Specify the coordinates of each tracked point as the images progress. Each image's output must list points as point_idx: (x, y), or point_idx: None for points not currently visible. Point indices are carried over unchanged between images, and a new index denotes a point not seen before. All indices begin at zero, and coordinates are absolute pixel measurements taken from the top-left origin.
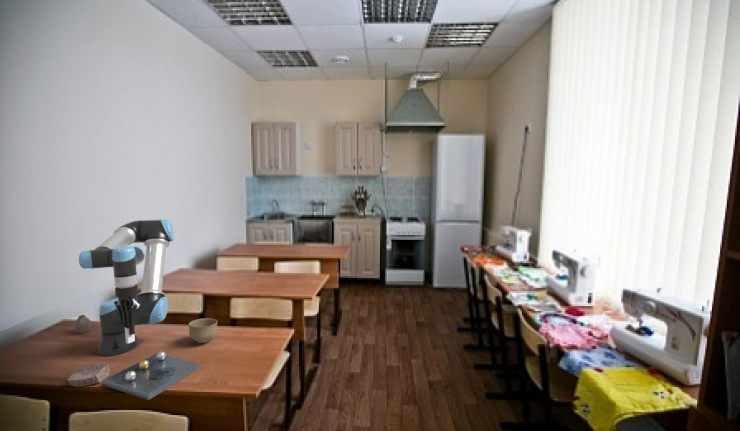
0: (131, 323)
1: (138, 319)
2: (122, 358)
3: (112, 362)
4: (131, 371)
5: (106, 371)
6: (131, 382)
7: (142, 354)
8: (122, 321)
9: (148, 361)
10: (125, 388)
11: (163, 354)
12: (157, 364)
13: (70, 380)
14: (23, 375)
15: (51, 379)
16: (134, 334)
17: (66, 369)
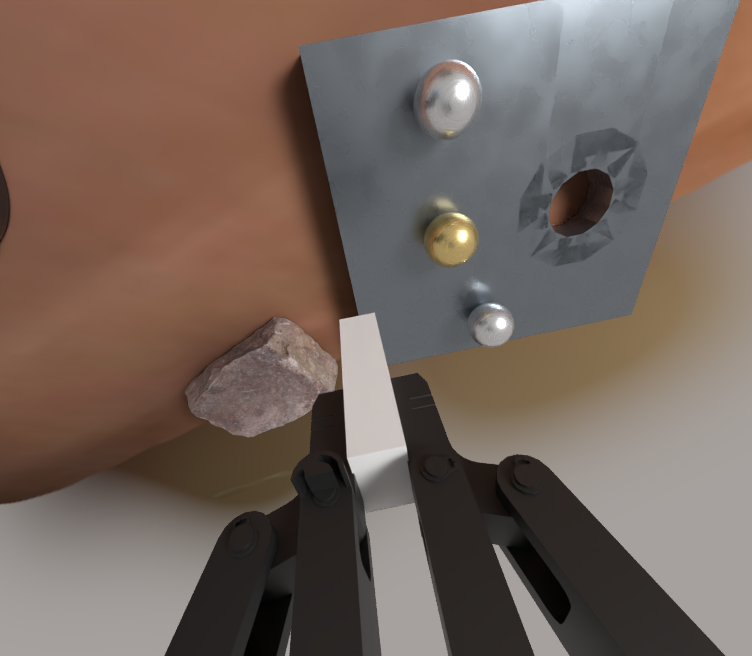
0: (537, 569)
1: (640, 569)
2: (106, 205)
3: (131, 262)
4: (503, 334)
5: (292, 342)
6: None
7: (129, 85)
8: (290, 610)
9: (466, 221)
10: None
11: (481, 96)
12: (468, 159)
13: (261, 431)
14: (22, 479)
15: (141, 437)
16: (383, 351)
17: (67, 398)
